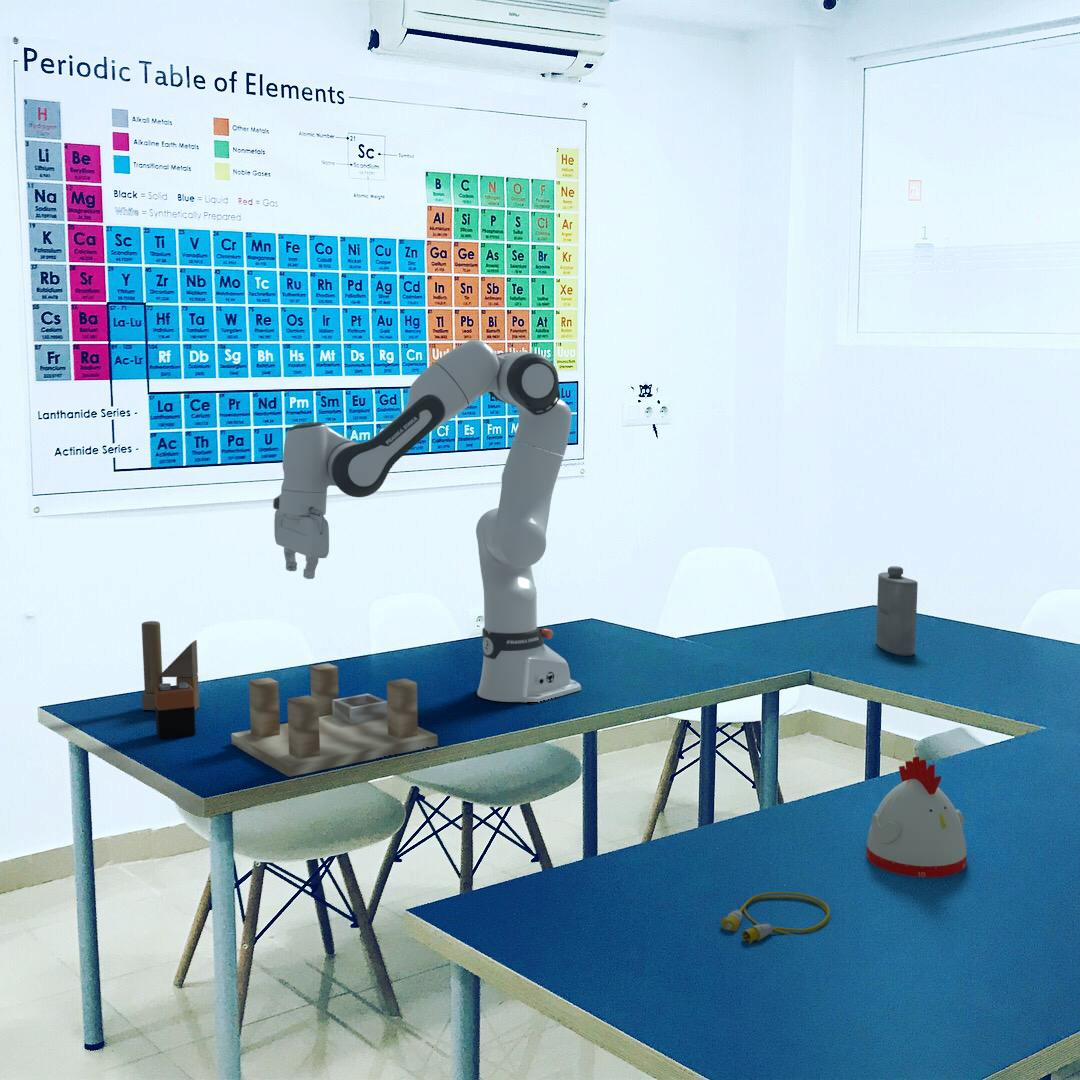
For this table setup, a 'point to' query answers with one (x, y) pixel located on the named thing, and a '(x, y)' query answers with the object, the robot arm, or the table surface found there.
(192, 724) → the battery
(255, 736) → the stone peg stand
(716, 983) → the table surface
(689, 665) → the table surface
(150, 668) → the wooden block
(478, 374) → the robot arm
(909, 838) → the kitchen timer
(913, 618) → the flask
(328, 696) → the oak leg
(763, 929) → the extension cord
